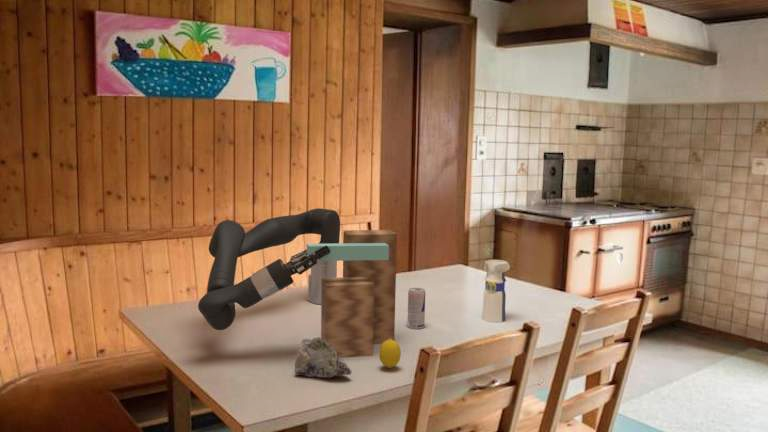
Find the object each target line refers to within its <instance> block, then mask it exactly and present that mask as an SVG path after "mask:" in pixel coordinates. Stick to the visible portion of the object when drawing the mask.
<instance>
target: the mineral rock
mask: <svg viewBox="0 0 768 432" xmlns="http://www.w3.org/2000/svg"><path fill="white" fill-rule="evenodd" d="M294 373H295V375H298V376H306V377H310V378H311V377H317V378H325V379H326V378H327V379H328V378H329V379H330V378H334V377H341V376H348V375H349V376H351V375H352V373H353V372H352V369H351V368H350V367H348V364H347V363H346V362H345V361H344V359H342V357H338V355H337V352H336V351H335V349H334V347H333V346H332V345H330V344H329V343H327V342H325V341H323V340H322V339H321V336H320V337H319V336H318V337H314V338H313V339H309V338H303V339H302V341H301V343H300V345H299V348H298V350H297V353H296V356H295V363H294Z"/></svg>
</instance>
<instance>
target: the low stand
mask: <svg viewBox="0 0 768 432" xmlns="http://www.w3.org/2000/svg"><path fill="white" fill-rule="evenodd" d="M320 305H321V311H320V312H321V313H320V315H321V318H320V322H321V323H320V325H321V327H320V338H321V339H322V340H323V341H325V342H327V343H329V344H330V345H332V346H333V347H334V349H335V351H336V352H337V355H338V357H340V358H351V357H365V356H367V357H368V356H370V357H371V356H373V355H374V354H373V353H374V344H373V317H374V283H373V282H372V281H371V280H370V279H369V278H368V277H343V276H342V277H337V278H322V294H321V304H320Z"/></svg>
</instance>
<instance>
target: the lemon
mask: <svg viewBox="0 0 768 432" xmlns="http://www.w3.org/2000/svg"><path fill="white" fill-rule="evenodd" d="M378 354H379V355H378V356H379V360H380V362H381V364H382V365H384V367H387V369H390V370H391V369H392V368H393V367H395V366H397V365H398V364H399V362H400V360H401V356H402V355H401V348H400V345H399V343H398V342H397V341H395V339H394V340H392V339H389V340H386V341H385V342H383V343H381V345H380V347H379V353H378Z"/></svg>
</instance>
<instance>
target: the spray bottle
mask: <svg viewBox="0 0 768 432" xmlns="http://www.w3.org/2000/svg"><path fill="white" fill-rule="evenodd" d="M483 250H484V256H486V255H487V256H490V252H491V251H492V249H490V248H489V245H487V246H486V248H485V247H484V248H483ZM510 269H511V266H510V264H509V262H508V261H506V260H502V259H488V260H485V261H484V267H483V270H484V273H486V275H485V277H484V281H485V285H484V286H485V288H484V291H483V302H482V304H483V305H482V314H481V319H482V321H485V322H489V323H504V322H505V321H506V301H507V300H506V299H507V298H506V296H507V295H506V291H505V286H506V281H507V279H506V277H505V274H506V272H507V271H509V270H510Z"/></svg>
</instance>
